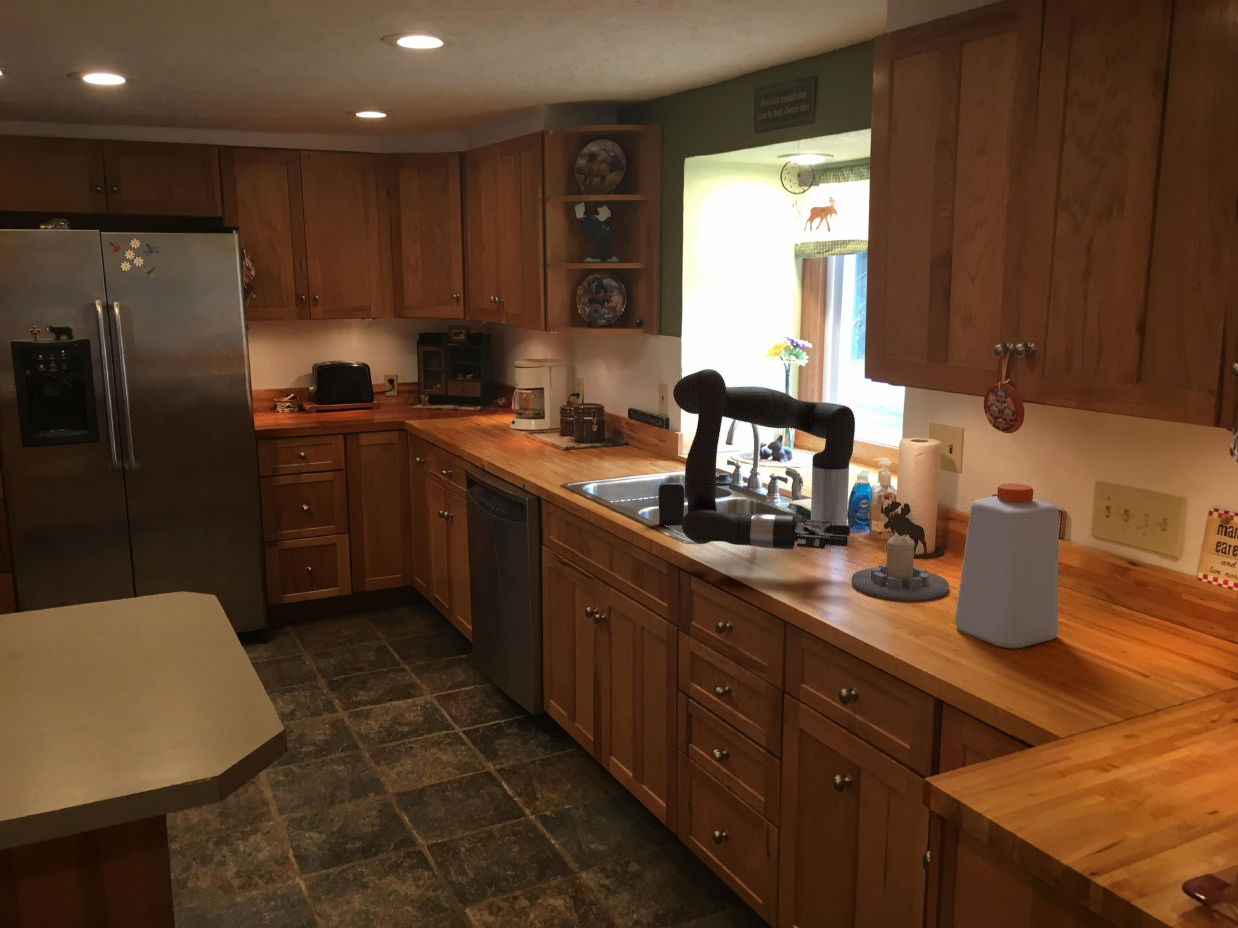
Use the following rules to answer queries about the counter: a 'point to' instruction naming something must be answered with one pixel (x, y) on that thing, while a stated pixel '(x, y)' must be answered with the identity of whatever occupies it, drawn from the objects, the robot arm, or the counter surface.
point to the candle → (900, 557)
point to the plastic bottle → (1010, 570)
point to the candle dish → (898, 594)
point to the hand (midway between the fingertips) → (848, 535)
